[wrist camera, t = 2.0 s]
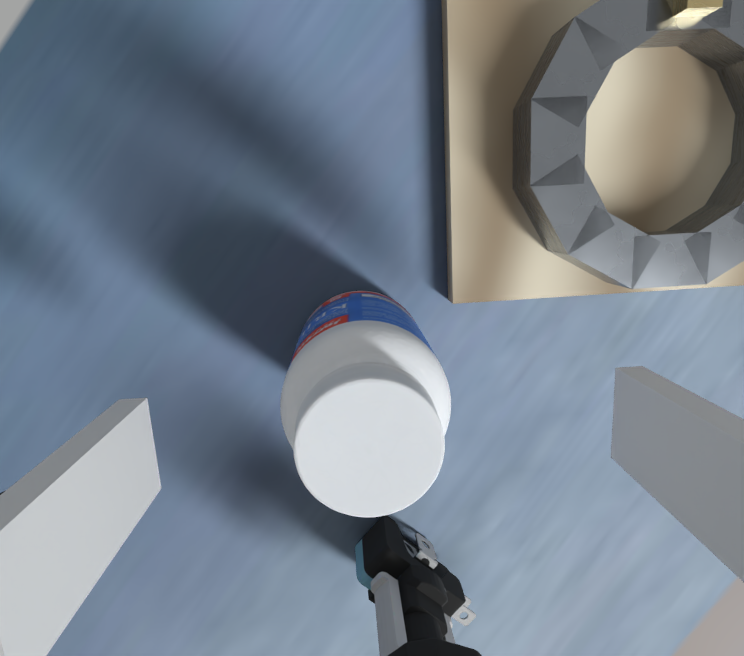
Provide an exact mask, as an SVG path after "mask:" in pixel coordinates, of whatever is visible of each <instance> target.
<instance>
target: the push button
mask: <svg viewBox="0 0 744 656" xmlns="http://www.w3.org/2000/svg"><path fill="white" fill-rule="evenodd" d="M415 536H416V541H417V545H418V547H417V546H415V545H414V544H413V543H411V542H410V541H408V540H407V539H406V538H404V537H403V536H402V535H401V532H400V529H399V527H398V525H397V524H396V522H395V521H393V520H392V519H391V518H389V517H388V516H386V515H385V516H382V517H381V518H380V519H379V520H378V522H377V523H376V524H375V525H374V526H373V527H372V528H371V529H370V530H369V532H368V533H367V534H366V535H365V536H364V537H363V538H362V539H361V540H360V541H359V543H358V544H357V545H356V546H355V552H356V572H357V579H358V580H359V582H360V583H361V584H362V585H364V586H365V587H367V588H368V589H369V590H368V595H369V600H370V601H372V602H373V603H375V607H376V618H377V630H378V641H379V652H380V656H481V654H480V653H479V652H478V651H476V650H474V649H471V648H468V647H464V646H461V645H458V644H455V640H454V637H453V633H452V629H451V628H452V621H451V618H450V617H453V618H454V619H455V620H457V621H458V622H460V623H461V624H463V625H464V626H467V625H468V624H469V623H470V622H471V621H472V620H473V619H474V618H475V617H476V614H475V613H474V612H473V611H471V610H470V609H468V608H467V607H468V606H469V605H470V603H471V599H469V598H468V597H466V596H465V595H464V593H463V590H462V587H461V584H460V581H459V580H458V579H457V577H456V576H454V575H453V574H452V573H450V572H449V570H448V569H447V568H446V567H445V566H443V565H442V564H440V563H439V562H438V561H436V559H437V558H436V555H435V551H434V547H433V545H432V544H431V543H430V541H428V540H427V539H425V538H424V537H423V536H421V535H420V534H419V533H416V534H415ZM422 541H423V542H424V543H425V544H426V545H427V546H428V548H429V549H428V548H426V547H425V546H424V545H423V543H422ZM462 612H466V613H467V614H468V616H467V617H466V618H460V614H461V613H462Z"/></svg>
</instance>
